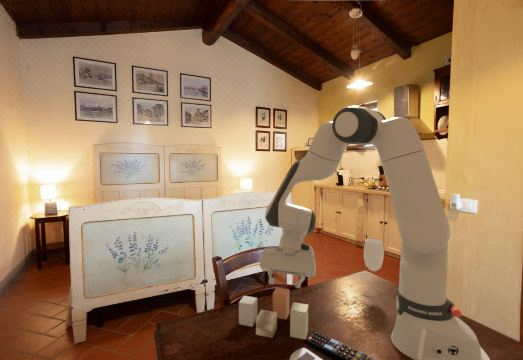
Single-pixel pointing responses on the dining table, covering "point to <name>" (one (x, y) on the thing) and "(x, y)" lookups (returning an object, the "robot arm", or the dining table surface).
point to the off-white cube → (266, 323)
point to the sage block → (299, 320)
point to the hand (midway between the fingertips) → (284, 285)
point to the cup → (373, 254)
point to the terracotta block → (281, 302)
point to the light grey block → (247, 311)
